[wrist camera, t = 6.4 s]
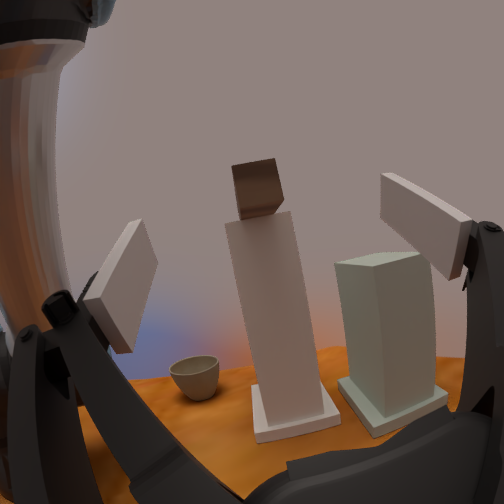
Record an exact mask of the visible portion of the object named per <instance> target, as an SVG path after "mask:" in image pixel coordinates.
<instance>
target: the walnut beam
mask: <svg viewBox="0 0 504 504" xmlns="http://www.w3.org/2000/svg"><path fill="white" fill-rule="evenodd" d="M232 173H233V179H234V186H235V193H236V200H237V207H238V213H239V218H240V220H245V219H250V218H256V217H261V216H266V215H271V214H274V213H275V212H276V210H277V209H278V208H279V206H280V205H281V204H282V202H283V201H284V197H283V192H282V188H281V183H280V179H279V174H278V170H277V166H276V161H275V158H273V159H267V160H261V161H255V162H249V163H244V164H238V165H233V166H232Z"/></svg>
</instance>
